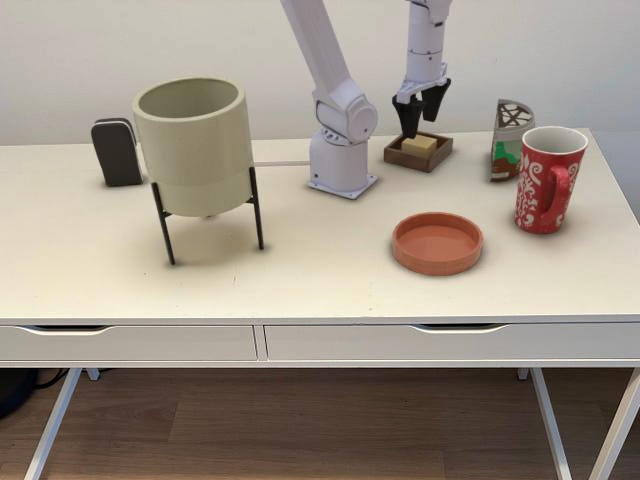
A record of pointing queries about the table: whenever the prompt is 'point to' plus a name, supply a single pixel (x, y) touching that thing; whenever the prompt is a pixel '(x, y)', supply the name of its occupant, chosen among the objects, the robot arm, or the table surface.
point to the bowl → (437, 243)
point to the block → (420, 146)
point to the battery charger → (116, 151)
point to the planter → (197, 148)
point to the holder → (417, 162)
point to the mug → (547, 177)
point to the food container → (509, 138)
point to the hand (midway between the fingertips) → (419, 129)
